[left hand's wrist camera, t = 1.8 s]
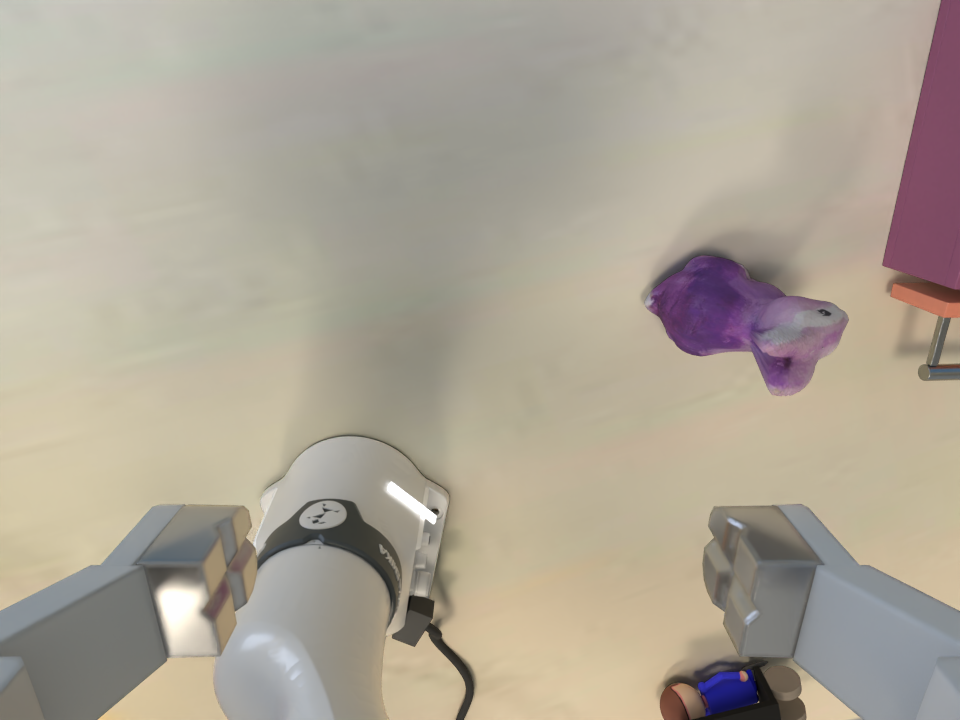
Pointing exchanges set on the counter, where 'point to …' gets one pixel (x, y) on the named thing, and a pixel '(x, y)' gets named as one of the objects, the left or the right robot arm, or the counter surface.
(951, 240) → the cabinet
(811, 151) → the counter surface
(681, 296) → the figurine
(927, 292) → the drawer
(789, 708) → the figurine character
